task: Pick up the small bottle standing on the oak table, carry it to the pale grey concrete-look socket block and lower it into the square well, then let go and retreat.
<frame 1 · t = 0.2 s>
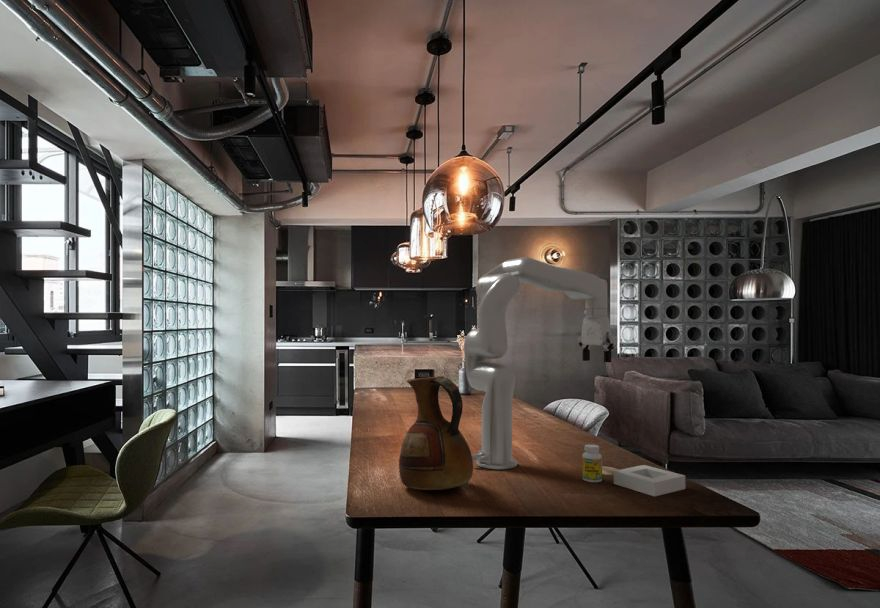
hand: (596, 361, 193), 31 cm above the table, tool pointing down, fingers open, 9 cm apart
socket block: (649, 486, 147), on the table
ceramic pitcher: (435, 488, 144), on the table
cork coaster: (605, 472, 162), on the table
supplement bottle: (592, 480, 152), on the table
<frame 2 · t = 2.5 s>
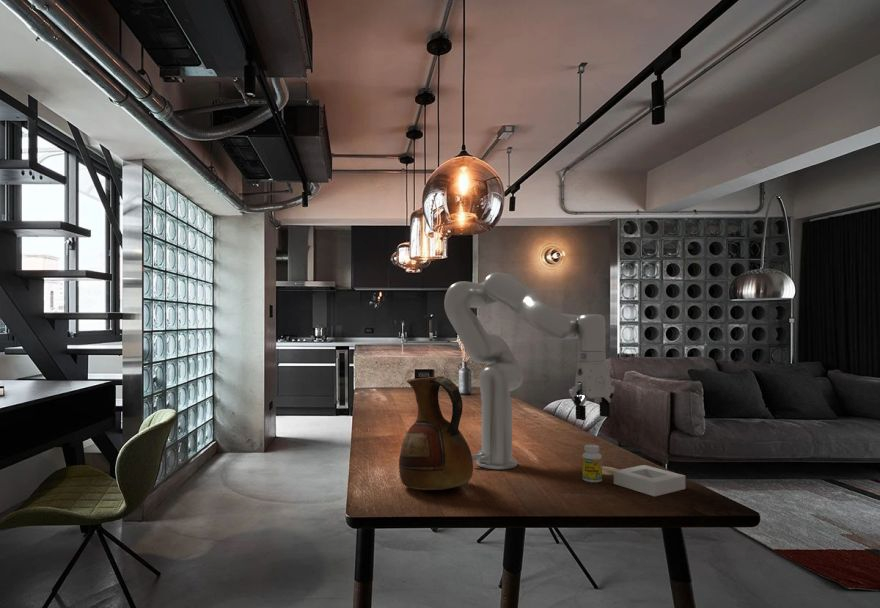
hand: (592, 418, 153), 17 cm above the table, tool pointing down, fingers open, 9 cm apart
nothing on the table moved.
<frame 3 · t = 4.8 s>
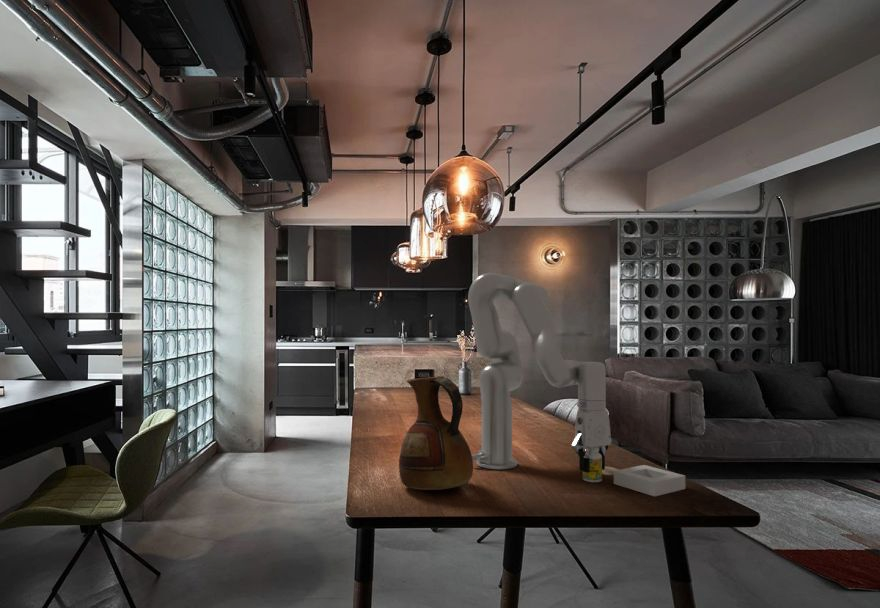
hand: (592, 469, 152), 3 cm above the table, tool pointing down, fingers closed on supplement bottle, 5 cm apart
supplement bottle: (592, 480, 152), on the table, touching gripper
everything else where it was.
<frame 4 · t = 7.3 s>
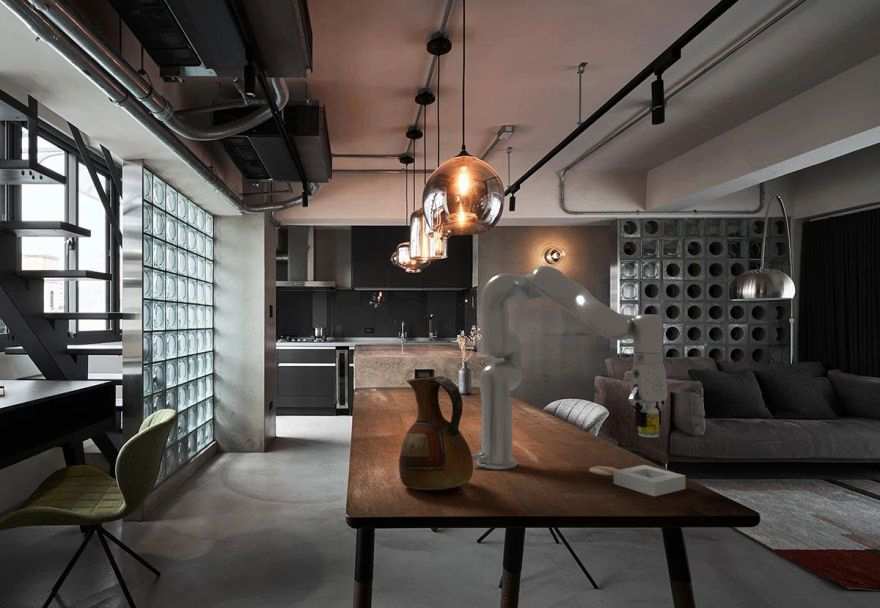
hand: (648, 424, 147), 17 cm above the table, tool pointing down, fingers closed on supplement bottle, 5 cm apart
supplement bottle: (648, 436, 147), point 13 cm above the table, touching gripper
everything else where it was.
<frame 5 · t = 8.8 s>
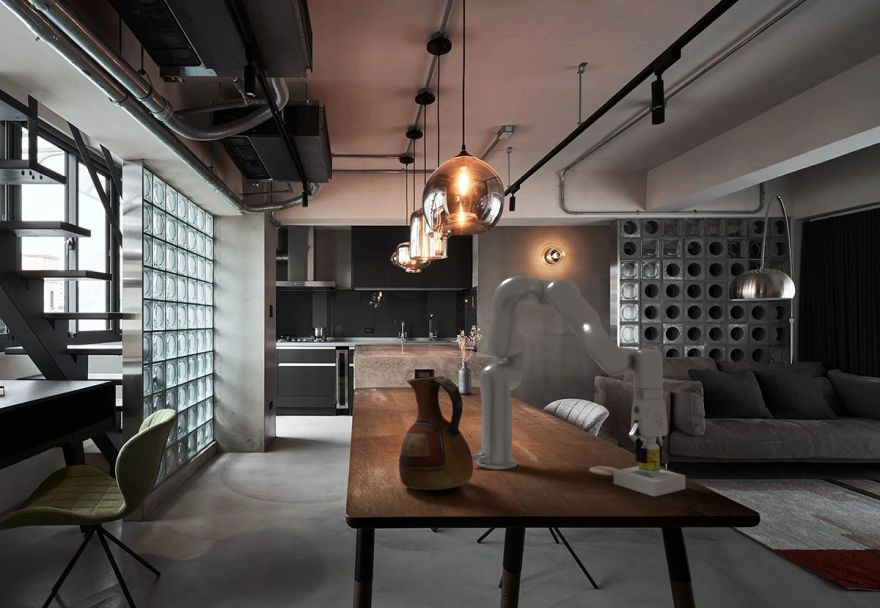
hand: (648, 460, 147), 7 cm above the table, tool pointing down, fingers closed on supplement bottle, 5 cm apart
supplement bottle: (649, 472, 147), point 4 cm above the table, touching gripper
everything else where it was.
when the fingers open (5 cm above the table, at t = 10.0 s): supplement bottle drops 2 cm, resting on socket block.
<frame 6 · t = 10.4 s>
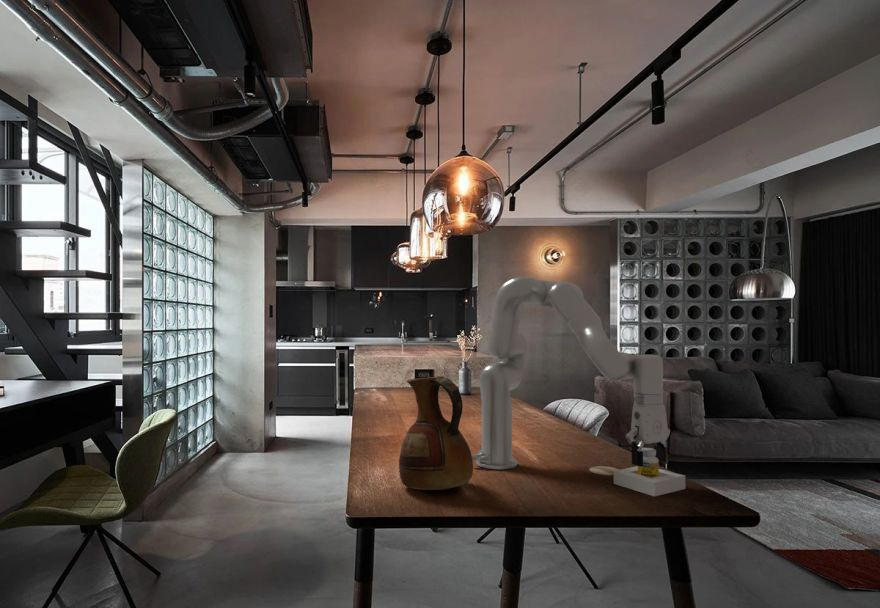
hand: (648, 463, 147), 6 cm above the table, tool pointing down, fingers open, 9 cm apart
supplement bottle: (647, 485, 147), resting on socket block
everything else where it was.
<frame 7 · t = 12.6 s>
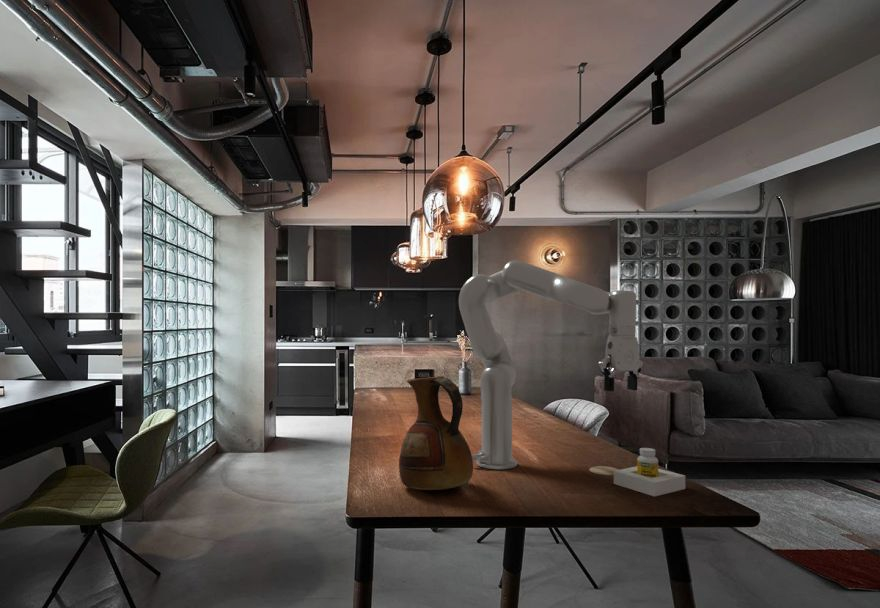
hand: (620, 390, 159), 25 cm above the table, tool pointing down, fingers open, 9 cm apart
nothing on the table moved.
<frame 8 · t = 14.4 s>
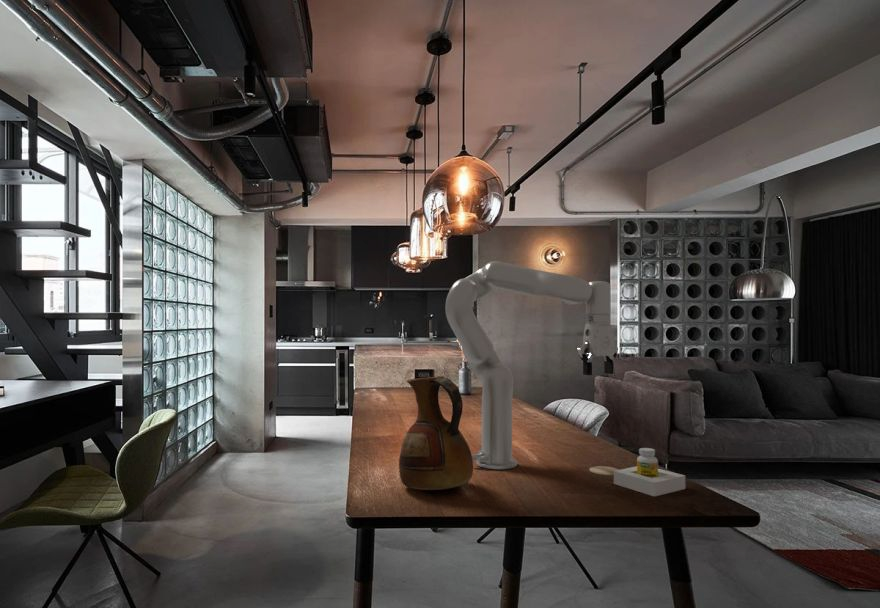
hand: (598, 374, 171), 28 cm above the table, tool pointing down, fingers open, 9 cm apart
nothing on the table moved.
at the end: supplement bottle inside the target area on the socket block (0.3 cm from its centre), point 0.1 cm above the socket block's base; supplement bottle tilted 0°; the gripper is holding nothing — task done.
